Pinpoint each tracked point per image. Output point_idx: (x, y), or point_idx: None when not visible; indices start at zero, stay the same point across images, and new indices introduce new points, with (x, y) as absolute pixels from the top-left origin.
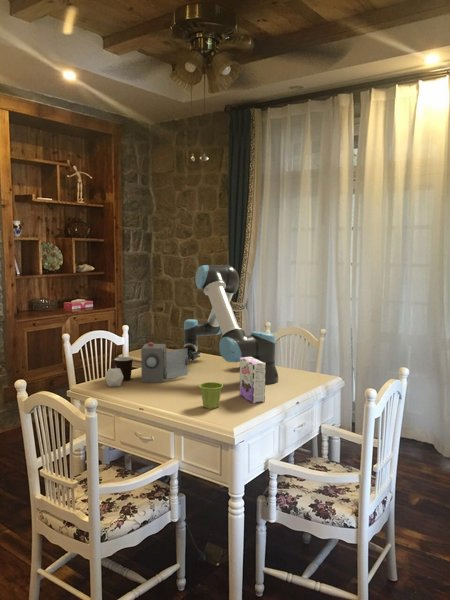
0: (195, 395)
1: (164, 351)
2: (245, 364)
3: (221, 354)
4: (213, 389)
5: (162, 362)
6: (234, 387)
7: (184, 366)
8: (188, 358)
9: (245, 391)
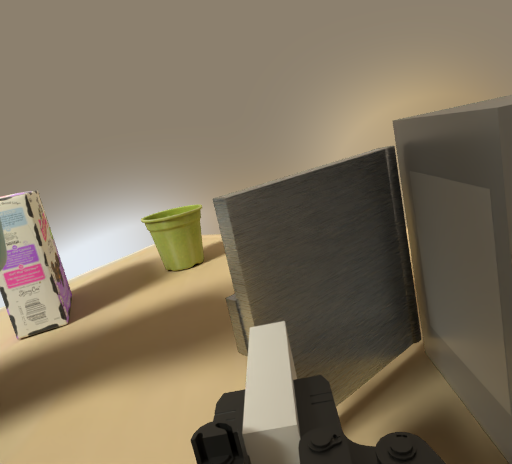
0: (220, 291)
1: (387, 147)
2: (37, 203)
3: (3, 236)
4: (171, 212)
5: (409, 222)
6: (31, 376)
7: None
8: (235, 397)
9: (63, 287)
